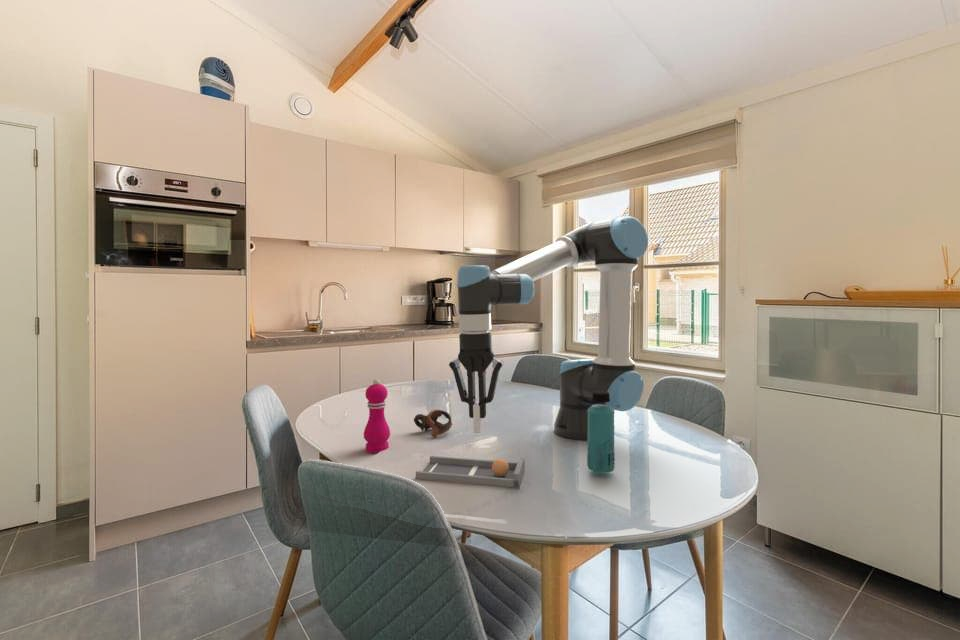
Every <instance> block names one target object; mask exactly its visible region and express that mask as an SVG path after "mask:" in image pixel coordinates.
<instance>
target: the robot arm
mask: <svg viewBox="0 0 960 640" xmlns="http://www.w3.org/2000/svg"><path fill="white" fill-rule="evenodd" d="M648 245H649V238H648V233H647V230H646V229H645V226H644V225H643V224H642V222H641V221H640V220H639V219H637V218H636V217H634V216H629V215H627V216H626V215H625V216H615V217H614V218H609V219H604V220H599V221H592V222H589V223H586V224H584V225H582V226H580V227H578V228H576V229H574V230H572V231H570V232H567V233H566V234H564V235H562V236H559V237H557V239H556V240H554V243H552V244H549V245H547V246H544V247H542V248H540V249H538V250H536V251H534V252H532V253H529V254H527V255H524V256H523V257H520V258H518V259H516V260H513V261H511V262H508V263H506V264H504V265H502V266H499V267H497V268H496V269H493V270H490V267H489V265H485V264H484V265H481V264H479V265H478V264H477V265H475V264H474V265H463V266H460V267H459V268H458V271H457V285H456V287H457V301H458V303H457V304H458V331H459V332H461V333H460V334H459V335H458V336H459V337H458V338H459V353H458V355H457V357H456V358H455V359H454V360H452V361H449V363H448V366H449V368H450V369H451V370H452V373H453V375H454V380H455V383H456V387H457V391H458V394H459V395H458V396H459V398H460V402H461V403H462V402H463V403H467V404H468V416H469V419H473V433H474V434H480V433H481V432H482V431H483V419H485V418H486V415H487V404H488V403H491V402H492V401H493V400H494V397H495V394H496V388H497V383H498V378H499V373H500V370H501V369H502V368H503V365H504V361H503V360H499V359H497V358H496V357H495V354H494V352H493V349H492V348H493V346H492V345H493V344H492V333H491V332H490V331H491V330H492V316H491V315H492V311H491V310H492V308H491V307H492V306H493V307H494V306H511V305H512V306H514V305H517V306H520V305H527V304H529V303H530V302H531V301H532V299H533V298H534V295H535V284H534V282H535V281H537V280H539V279H542V278H544V277H546V276H547V275H550V274H552V273H554V272H556V271H558V270H561V269H563V268H565V267H566V268H573V267H574V266H576V265H577V266H578V265H579V264H587V263H594V267H595V268H596V269H597V270H598V272H600V274H599V276H600V277H599V282H600V283H599V311H598V312H599V315H598V349H597V351H598V353H597V356H596V357H595V358H584V359H570V360H569V359H568V360H564V361H562V362H561V364H560V370H559V409H558V412H557V416H556V418H555V421H554V424H553V426H554V427H553V432H554V433H555V434H556V435H558V436H560V437H562V438H563V437H564V438H567V439H572V440H587V436H588V409H589V408H590V407H591V406H592V405H595V404H603V405H608V406H610V407H611V408H612V409H613V410H614V411H618V412H627V411H630V410H632V409H633V408H634V407H635V406H636V405H637V404H638V403H639V401H640V400H641V398H642V396H643V393H644V392H643V391H644V381H643V378H642V375H641V374H640V373H638V372H637V371H636V368H635V365H636V363H635V362H634V360H633V359H632V358H631V356H630V350H631V349H630V348H631V347H630V345H631V321H632V319H631V316H632V315H631V314H632V313H631V310H632V281H633V280H632V279H633V271H635V269H636V268H637V267H638V265H639V259H640V258H642V256H644V255H645V254H646V251H647V250H648ZM491 363H492V364H491ZM490 365H491V367H492V368H493V369H492V372H491V377H490V382H489V387H488V391H487V387H486V386H487V383H486V380H487V379H486V374H487V369H488V368H489V366H490ZM461 366H463V367H464V369H465V370H466V375H467V387H466V385H465V384H466V383H465V380H464V376H463V372H462V369H461ZM476 372H477V376H478V378H477V379H478V402H476V400H477V399H476ZM594 391H605V392H608V393H609V397H610V402H595V401H592V394H593V392H594ZM487 392H488V393H487Z"/></svg>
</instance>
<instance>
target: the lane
mask: <svg viewBox="0 0 960 640" xmlns="http://www.w3.org/2000/svg"><path fill="white" fill-rule="evenodd" d="M494 461H495V460H492V459H491V460H490V459H479V458H468V457H467V458H465V457H451V456H439V455H430V456H429V462H428V464H427V465H426V466H425V467H424V468H423V470H416V471H415V479H417V480H424V481H425V480H428V481H440V482H449V483H461V484H473V485H484V486H495V487H504V488H505V487H506V488H516V489H517V488H518V491H520V488H521V484H522V481H523V478H524V475H525V470H526V467H525V465H526V463H525V462H526V461H525V456H519V457H518V460H517V461H508V460H507V461H506V460H505V461H506V462H507V463H508V465H509V470H508V473H507V474H506V475H505V476H502V477H499V476H496V475H495V474H494V473H493V471H492V464H493V462H494Z"/></svg>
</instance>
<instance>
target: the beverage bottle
mask: <svg viewBox="0 0 960 640" xmlns="http://www.w3.org/2000/svg"><path fill="white" fill-rule="evenodd" d="M592 401H595V402H610V397H609V393H608V392H605V391H594V392H593V394H592ZM615 433H616V432H615V410H613V409H612V408H611V407H610V406H608V405H603V404H595V405H592V406H591V407H590V408H589V409H588V436H587V439H586V443H587V444H586V461H587V462H586V465H587V468H588V469H589V471H591V472H594V473H599V474H608V473H609V474H610V473H612V472H614V469H615V464H616V463H615V460H616V458H615V457H616V455H615Z"/></svg>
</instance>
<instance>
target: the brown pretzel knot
mask: <svg viewBox="0 0 960 640" xmlns="http://www.w3.org/2000/svg"><path fill="white" fill-rule="evenodd" d="M442 416H444V417H445V418H446V419H447V420H448V421H447V422H446V423H442V422H441V421H440V422H439V421H438V418H440V417H442ZM413 421H414V424H415V425H416V427H418V428H419V429H420V430H421V431H422V432H427V430H430V429H432V432H431V433H430V435H431V437H432V438H435V437H436V438H438V436H439V435H442V434H445V433H446V432H447V433H448V431H450V429H451V428H452V425H453V422H452V416H451V415H450V414H449V413H448V412H447V411H445V410H442V409H434V410H431V411H430V412H429V413H428V414H427V415H426V414H422V413H420V414H419V413H418V414H416V415H415V416H414V418H413Z"/></svg>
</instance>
